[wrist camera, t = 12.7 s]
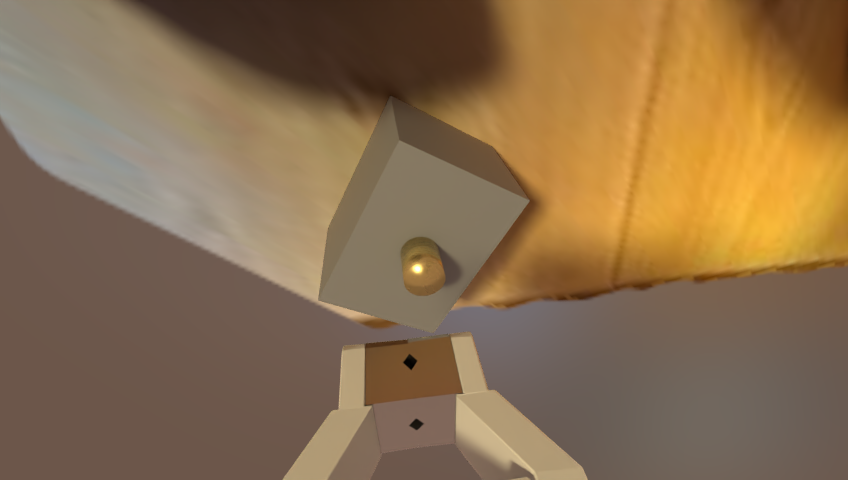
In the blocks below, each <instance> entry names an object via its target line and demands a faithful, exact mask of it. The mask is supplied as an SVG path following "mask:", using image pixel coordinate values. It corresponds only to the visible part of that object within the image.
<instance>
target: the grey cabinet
mask: <svg viewBox="0 0 848 480" xmlns="http://www.w3.org/2000/svg"><path fill="white" fill-rule="evenodd" d="M529 201H530V200H529V199H528V197H527V196H526V194H525V193H524V192H523V190H522V189H521V187H520V186H519V184H518V183H517V181H516V180H515V179H514V177H513V176H512V174H511V173H510V171H509V170H508V168H507V167H506V166H505V164H504V163H503V161H502V160H501V158H500V157H499V156H498V154H497V153H496V151H495V150H494V148H493V147H492V146H490V145H488V144H486V143H484V142H482V141H480V140H478V139H476V138H474V137H472V136H470V135H468V134H466V133H464V132H462V131H460V130H458V129H456V128H454V127H452V126H450V125H448V124H446V123H444V122H442V121H440V120H438V119H436V118H434V117H432V116H431V115H429V114H427V113H425V112H423V111H421V110H419V109H417V108H415V107H413V106H411V105H409V104H407V103H405V102H403V101H401V100H399V99H397V98H395V97H393V96H391V95H390V97H389V99H388V102H387V104H386V106H385V108H384V110H383V112H382V114H381V116H380V119H379V121H378V123H377V125H376V127H375V129H374V131H373V134H372V136H371V138H370V140H369V142H368V144H367V146H366V149H365V151H364V153H363V155H362V157H361V159H360V161H359V163H358V166H357V168H356V170H355V172H354V174H353V176H352V178H351V181H350V183H349V185H348V187H347V189H346V191H345V193H344V196H343V198H342V200H341V202H340V204H339V206H338V208H337V210H336V213H335V215H334V217H333V219H332V221H331V223H330V225H329V228H328V232H327V239H326V247H325V254H324V261H323V269H322V276H321V283H320V291H319V298H318V300H319V301H322V302H326V303H329V304H333V305H336V306H340V307H343V308H347V309H350V310H354V311H357V312H361V313H364V314H368V315H371V316H375V317H378V318H382V319H385V320H389V321H392V322H396V323H399V324H403V325H406V326H410V327H414V328H417V329H420V330H424V331H428V332H431V333H434V332H435V330H436V329H437V327H438V326H439V325H440V324H441V322H442V321H443V319H444V318H445V317H446V315H447V314H448V313H449V311H450V310H451V308H452V307H453V306H454V304H455V303H456V302H457V300H458V299H459V297H460V296H461V295H462V293H463V292H464V291H465V289H466V288H467V286H468V285H469V284H470V282H471V281H472V280H473V278H474V277H475V275H476V274H477V273H478V271H479V270H480V269H481V267H482V266H483V264H484V263H485V262H486V260H487V259H488V258H489V256H490V255H491V253H492V252H493V251H494V249H495V248H496V247H497V245H498V244H499V243H500V241H501V240H502V238H503V237H504V236H505V234H506V233H507V232H508V230H509V229H510V227H511V226H512V225H513V223H514V222H515V221H516V219H517V218H518V216H519V215H520V214H521V212H522V211H523V210H524V208H525V207H526V205H527V204H528V203H529ZM415 237H427V238H429V239H431V240H433V241H434V242H435V243H436V244H437V246H438V250H439V253H440V257H441V261H442V265H443V269H444V273H445V283H444V285H443V287H442V288H441V289H440V290H439V291H437V292H436V293H434V294H431V295H428V296H417V295H414V294H412V293H410V292H409V291H408V290H407V289H406V288H405V286H404V280H403V272H402V264H401V256H400V251H401V248H402V246H403V245H404V244H405V243H406V242H407V241H408V240H410V239H412V238H415Z"/></svg>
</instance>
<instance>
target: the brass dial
mask: <svg viewBox="0 0 848 480" xmlns="http://www.w3.org/2000/svg"><path fill="white" fill-rule="evenodd" d="M400 256H401V264H402V272H403V280H404V286H405V288H406V289H407V290H408V291H409V292H410V293H412V294H414V295H417V296H428V295H431V294H434V293H436V292H437V291H439V290H440V289H441V288H442V287H443V285H444V283H445V273H444V269H443V265H442V261H441V257H440V253H439V250H438V246H437V244H436V243H435V242H434V241H433V240H431V239H429V238H427V237H415V238H412V239H410V240H408V241H407V242H406V243H405V244H404V245H403V246H402V248H401V251H400Z"/></svg>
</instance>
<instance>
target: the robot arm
mask: <svg viewBox="0 0 848 480" xmlns="http://www.w3.org/2000/svg"><path fill="white" fill-rule="evenodd" d="M339 395H340V396H339V410H333V411H331V413H330V414H329V415H328V417H327V418H326V420H325V421H324V422H323V424H322V425H321V427H320V428H319V430H318V431H317V432H316V434H315V435H314V436H313V438H312V439H311V441H310V442H309V443H308V445H307V446H306V448H305V449H304V451H303V452H302V453H301V455H300V456H299V457H298V459H297V460H296V462H295V463H294V465H293V466H292V467H291V469H290V470H289V471H288V473H287V474H286V476H285V477H284V479H283V480H370V479H371V476H372V474H373V472H374V470H375V468H376V466H377V464H378V462H379V459H380V458H381V453H386V452H392V451H398V450H405V449H411V448H417V447H425V446H434V445H444V444H453V443H455V445H456V447H457V448H458V449H459V450H460V452H461V453H462V454H463V455H464V457H465V458H466V459H467V461H468V462H469V463H470V464H471V466H472V467H473V468H474V469H475V471H476V472H477V473H478V474H479V476H480V477H481V478H482V479H483V480H587V477H586V475H585V473H584V470H583V468H582V467H581V466H580V465H579V464H578V463H577V462H576V461H574V460H573V459H572V458H571V457H570V456H569V455H568V454H567V453H566V452H564V451H563V450H562V449H561V448H560V447H559V446H558V445H556V444H555V443H554V442H553V441H552V440H551V439H550V438H549V437H548V436H546V435H545V434H544V433H543V432H542V431H541V430H540V429H538V428H537V427H536V426H535V425H534V424H533V423H532V422H531V421H529V420H528V419H527V418H526V417H525V416H524V415H523V414H522V413H521V412H519V411H518V410H517V409H516V408H515V407H514V406H513V405H512V404H510V403H509V402H508V401H507V400H506V399H505V398H503V396H501V395H500V394H499V393H498V392H497V391H496V390H488V387H487V383H486V380H485V377H484V373H483V370H482V366H481V363H480V360H479V356H478V353H477V349H476V346H475V343H474V339H473V336H472V334H471V333H470V332H463V333H454V334H449V335H448V334H443V335H436V336H429V337H420V338H412V339H407V340H398V341H387V342H376V343H366V344H357V345H347V346H344V347H343V350H342V359H341V378H340V394H339Z"/></svg>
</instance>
